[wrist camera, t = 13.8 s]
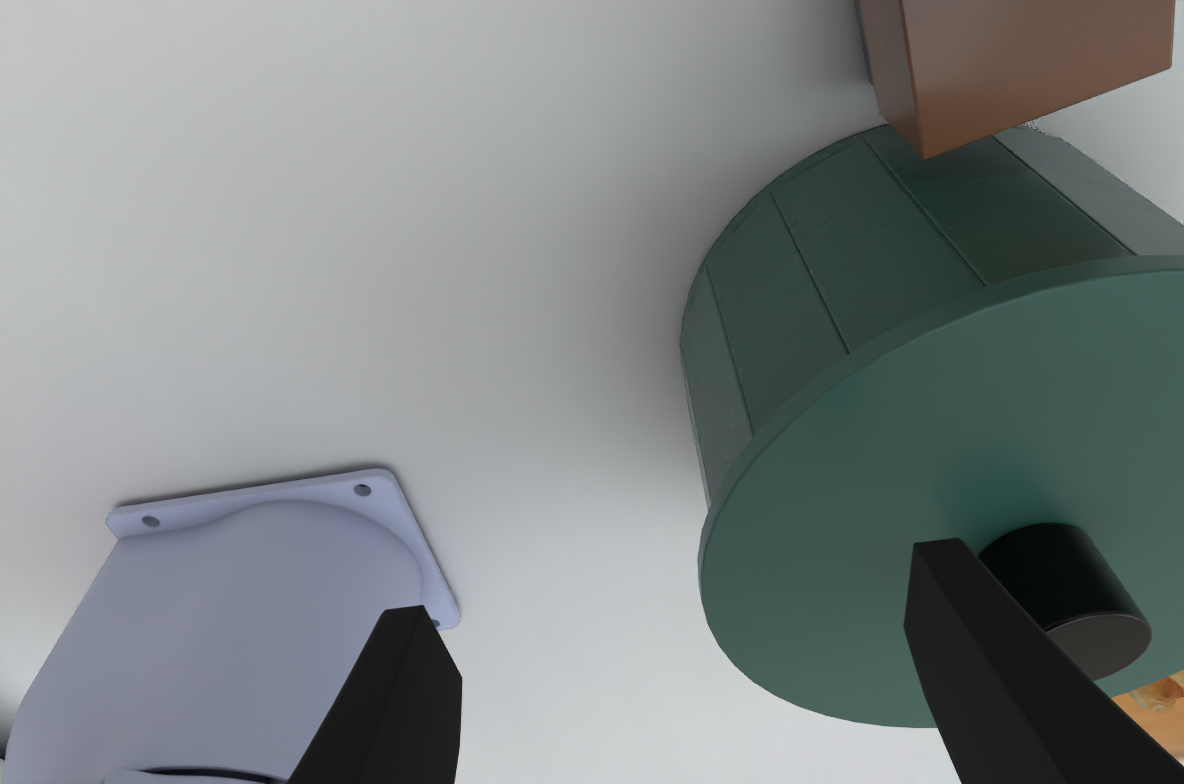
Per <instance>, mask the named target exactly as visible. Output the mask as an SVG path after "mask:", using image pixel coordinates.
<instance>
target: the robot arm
mask: <svg viewBox="0 0 1184 784" xmlns="http://www.w3.org/2000/svg"><path fill="white" fill-rule="evenodd" d="M359 484H363V485H366V486H368V487H362V486H360V485H359ZM105 523H106V525H107V527H108V528H109V529H110V530H111V532H112V533H113V534H114V535H115V536H116V537H117V539H118V542H117V543H116V545H115V546H114V548H113V550H112V551H111V553H110V555H109V556H108V558H107V560H106V561H105V563H104V565H103V566H102V568H101V570H100V571H99V573H98V575H97V576H96V578H95V580H94V581H93V583H92V585H91V586H90V588H89V590H88V591H87V593H86V595H85V596H84V598H83V600H82V601H81V603H80V605H79V606H78V608H77V609H76V611H75V613H74V614H73V616H72V618H71V619H70V621H69V623H68V624H67V626H66V628H65V629H64V631H63V633H62V634H61V636H60V638H59V639H58V641H57V643H56V644H55V646H54V648H53V649H52V651H51V653H50V654H49V656H48V658H47V659H46V661H45V663H44V664H43V666H42V668H41V669H40V671H39V672H38V674H37V676H36V677H35V679H34V681H33V682H32V684H31V686H30V687H29V689H28V691H27V692H26V694H25V696H24V698H23V700H22V702H21V704H20V706H19V708H18V711H17V714H16V716H15V719H14V722H13V725H12V727H11V732H10V736H9V740H8V744H7V749H6V755H5V764H4V784H454V782H455V776H456V769H457V762H458V755H459V748H460V730H461V706H462V676H461V674H460V673H459V671H458V669H457V667H456V665H455V663H454V661H453V659H452V657H451V656H450V654H449V652H448V650H447V648H446V646H445V644H444V642H443V640H442V639H441V637H440V635H439V633H438V630H446V629H451V628H454V627H456V626H458V624H459V622H460V616H461V615H460V611H459V609H458V607H457V604H456V602H455V600H454V598H453V596H452V594H451V592H450V590H449V588H448V586H447V584H446V582H445V579H444V577H443V575H442V573H441V571H440V569H439V567H438V565H437V563H436V561H435V559H434V557H433V555H432V552H431V550H430V548H429V546H428V544H427V542H426V540H425V538H424V536H423V534H422V532H421V530H420V527H419V525H418V523H417V521H416V519H415V517H414V515H413V513H412V511H411V509H410V507H409V505H408V503H407V500H406V498H405V496H404V494H403V492H402V490H401V488H400V486H399V484H398V482H397V480H396V478H395V476H394V475H393V474H392V473H391V472H389V471H387V470H384V469H369V470H362V471H355V472H349V473H342V474H335V475H329V476H322V477H315V478H309V479H302V480H296V481H289V482H282V483H276V484H269V485H262V486H256V487H249V488H243V489H236V490H229V491H223V492H216V493H209V494H203V495H196V496H189V497H183V498H176V499H170V500H163V501H156V502H150V503H143V504H136V505H130V506H123V507H117V508H114V509H112V511H111V512H110V513H109V515H108V516H107V518H106V522H105ZM903 628H904V631H905V635H906V638H907V641H908V645H909V648H910V651H911V655H912V658H913V661H914V665H915V668H916V671H917V674H918V677H919V681H920V684H921V687H922V690H923V693H924V696H925V699H926V701H927V704H928V706H929V709H930V711H931V713H932V716H933V718H934V720H935V723H936V725H937V728H938V730H939V732H940V735H941V737H942V739H943V742H944V744H945V746H946V749H947V751H948V753H949V756H950V758H951V760H952V763H953V765H954V767H955V770H956V772H957V774H958V776H959V779H960V781H961V783H962V784H1184V766H1183V765H1182V764H1181V763H1179V762H1178V761H1177V760H1176V759H1175V758H1174V757H1173V756H1172V755H1171V754H1169V753H1168V752H1167V751H1166V750H1165V749H1164V748H1163V747H1162V746H1161V745H1160V744H1158V743H1157V742H1156V741H1155V740H1154V739H1153V738H1152V737H1151V736H1150V735H1149V734H1148V733H1147V732H1146V731H1144V730H1143V729H1142V728H1141V727H1140V726H1139V725H1138V724H1137V723H1136V722H1135V721H1134V720H1133V719H1132V718H1131V717H1129V716H1128V715H1127V714H1126V713H1125V712H1124V711H1123V710H1122V709H1121V708H1120V707H1119V706H1118V705H1117V704H1116V703H1115V702H1114V701H1113V700H1112V699H1111V698H1110V697H1109V696H1108V695H1107V694H1106V693H1104V692H1103V691H1102V690H1101V689H1100V688H1099V687H1098V686H1097V685H1096V684H1095V683H1094V682H1093V681H1092V680H1091V679H1090V678H1089V677H1088V676H1087V675H1086V674H1085V673H1084V671H1083V670H1082V669H1081V668H1080V667H1079V666H1078V665H1077V664H1076V663H1075V662H1074V661H1073V660H1072V659H1071V658H1070V657H1069V656H1068V655H1067V654H1066V653H1065V652H1064V651H1063V650H1062V649H1061V648H1060V647H1059V646H1058V645H1057V644H1056V643H1055V642H1054V641H1053V640H1052V639H1051V638H1050V637H1049V636H1048V635H1047V634H1046V633H1045V631H1044V630H1043V629H1042V628H1041V627H1040V626H1039V625H1038V624H1037V623H1036V622H1035V621H1034V620H1033V619H1032V618H1031V616H1030V615H1029V614H1028V613H1027V612H1026V611H1025V610H1024V609H1023V608H1022V607H1021V606H1020V604H1019V603H1018V602H1017V601H1016V600H1015V599H1014V598H1013V597H1012V596H1011V594H1010V593H1009V592H1008V591H1007V590H1006V589H1005V588H1004V587H1003V585H1002V584H1001V583H1000V582H999V581H998V580H997V579H996V578H995V576H994V575H993V574H992V573H991V572H990V571H989V569H988V568H987V567H986V566H985V565H984V564H983V562H982V561H981V560H980V559H979V558H978V557H977V555H976V554H975V553H974V552H973V551H972V549H971V548H970V547H969V546H968V545H967V543H966V542H965V541H963V540H961V539H960V538H958V537H957V538H949V539H941V540H934V541H926V542H918V543H914V544H913V552H912V560H911V568H910V577H909V585H908V593H907V601H906V609H905V617H904V625H903Z"/></svg>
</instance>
